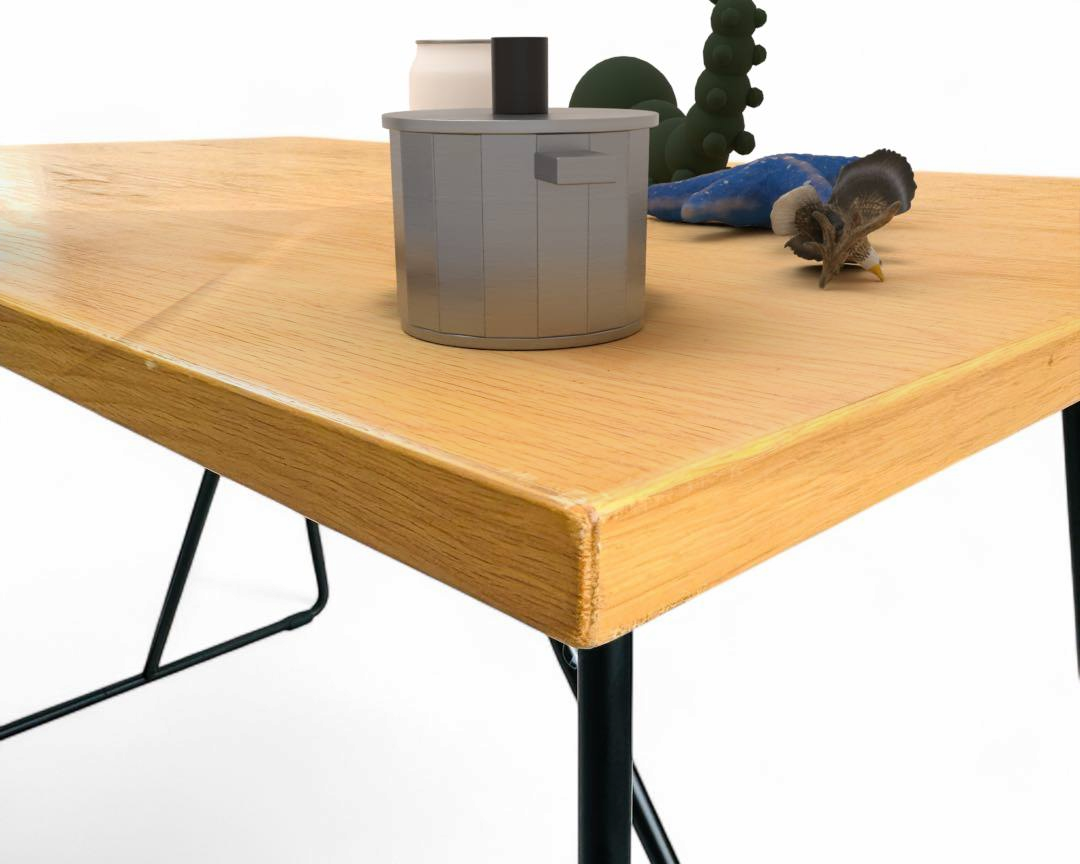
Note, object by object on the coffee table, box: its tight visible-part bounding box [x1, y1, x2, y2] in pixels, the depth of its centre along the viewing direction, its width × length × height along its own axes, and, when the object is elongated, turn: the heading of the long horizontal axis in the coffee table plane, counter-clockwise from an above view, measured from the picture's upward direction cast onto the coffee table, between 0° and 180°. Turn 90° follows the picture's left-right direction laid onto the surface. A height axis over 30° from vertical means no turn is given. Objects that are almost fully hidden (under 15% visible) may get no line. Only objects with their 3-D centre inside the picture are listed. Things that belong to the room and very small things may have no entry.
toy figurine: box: [567, 0, 768, 187], centre depth 100 cm, size 9×19×25 cm
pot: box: [388, 128, 649, 351], centre depth 53 cm, size 11×16×8 cm
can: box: [408, 38, 492, 111], centre depth 63 cm, size 6×6×12 cm
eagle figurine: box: [770, 147, 918, 290], centre depth 65 cm, size 8×7×9 cm
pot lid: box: [381, 36, 659, 134], centre depth 51 cm, size 12×12×4 cm
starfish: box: [647, 152, 913, 228], centre depth 84 cm, size 19×19×5 cm
